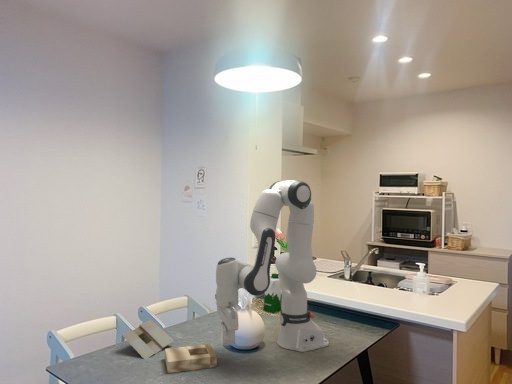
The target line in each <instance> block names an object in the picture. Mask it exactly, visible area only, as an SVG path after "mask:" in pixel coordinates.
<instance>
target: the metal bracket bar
mask: <svg viewBox="0 0 512 384" xmlns="http://www.w3.org/2000/svg"><path fill="white" fill-rule="evenodd" d="M219 324H220V325H219V328H220V332H219V334H220V335H219V337H220V344H221V346H223V347H224V346H231V345H232V346H233V345H236V330H235V331H232V337H228V336H227V327H226V325H225V324H224V322H223V321H220V322H219Z"/></svg>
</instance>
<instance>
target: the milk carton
mask: <svg viewBox="0 0 512 384" xmlns="http://www.w3.org/2000/svg"><path fill="white" fill-rule="evenodd" d="M263 294H264V296H263V300H264V301H263V309H262V310H263V311H264V312H268V313H269V314H275V313H278V312H281V310H282V292H281V285H280V280H279V274H278V273H274V272H273V273H271V274H270V285H269V288H268V289H267V291H266V292H265V293H263Z"/></svg>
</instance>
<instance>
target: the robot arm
mask: <svg viewBox="0 0 512 384" xmlns="http://www.w3.org/2000/svg"><path fill="white" fill-rule="evenodd" d="M254 204H255V205H254V207H253V210H252V212H251V216H250V221H249V227H250V230H251V232H252V234H253V235H254V236H255V238H256V240H257V250H256V255H255V259H254V264H253V265H252V264H249V263H245V262H242V261H240V260H238V259H237V258H236V257H225V258H222V259H220V260H219V261H217V264H216V270H215V283H216V290H215V295H214V296H215V297H214V298H215V303H216V310H217V315H218V317H219V319H221V322H224V324H225V325H226V327H227V336H228V337H232V331H235V332H236V331H238V330H239V314H238V310H237V308H236V306H238V304H239V291H240V290H241V289H243V290H244V291H246V292H247V293H248V294H249V295H251V296H255V297H258V296H262V295H263V294H264V293H265V292H266V291H267V289H268V288H269V285H270V277H271V274H270V273H271V272H270V271H271V264H272V261H273V255H274V250H275V244H276V231H277V225H278V221H279V218H280V215H281V213H280V212H281V211H282V209H283V207H284V206H286V207H288V209H289V214H288V216H289V217H288V220H287V228H286V236H285V241H286V243H287V248H288V252H282V253H280V254H279V255H277V256H276V259H275V263H274V265H275V268H276V270H277V274H279V280H280V285H281V311H280V313H279V315H280V316H279V321H280V322H279V324H280V326H279V327H280V329H279V333H278V338H277V342H276V343H277V344H278V346H279V347H281V348H283V349H287V350H291V351H297V352H300V353H305V352H308V351H313V350H316V349H321V348H322V349H323V348H325V347H326V348H327V347H329V343H330V342H329V340H328V339H327V338H326V337H325V336H324V333H323V330H322V328H321V327H320V326H319V325H318V324H317V323H316V322H315V321H313V319H315V317H316V315H315V314H314V313H313V312H310V311H308V293H307V291H306V289H305V285H304V284H309V283H312V282H313V281H314V280H315V279H316V276H317V271H318V269H317V267H316V265H315V262H314V258H313V250H312V248H313V247H312V238H313V229H314V221H315V220H314V219H315V209H314V208H315V206H314V203H313V202H312V190H311V187H310V186H309V184H308V183H306V182H304V181H303V180H302V181H301V180H295V179H294V180H293V179H286V180H278V181H275V182H274V183H272V184H271V185H270V187H269V188H267V189H263V190H262V191H261V192H260V193H259V196H258V198H257V200H256V202H255V203H254Z"/></svg>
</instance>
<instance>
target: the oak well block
mask: <svg viewBox="0 0 512 384" xmlns="http://www.w3.org/2000/svg"><path fill="white" fill-rule="evenodd" d="M217 360H218V356H217V354H216V352H215V349H214V348H213V346H212V344H211V343H205V344H197V345H196V344H195V345H187V346H179V347H169V348H165V349H164V361H165V365H166V371H167V374H171V373H180V372H186V371H193V370H203V369H209V368H217V365H218V364H217V362H218V361H217Z"/></svg>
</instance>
